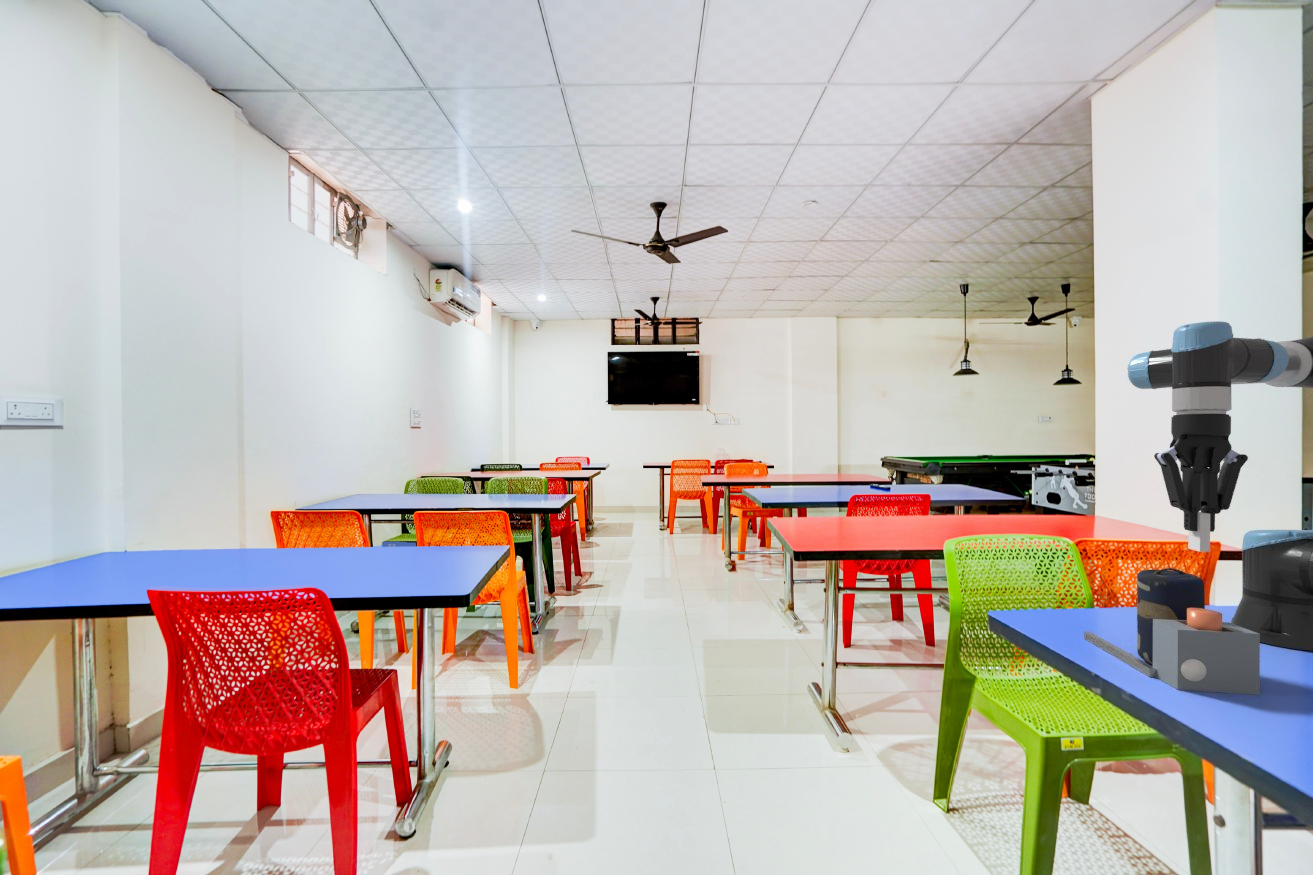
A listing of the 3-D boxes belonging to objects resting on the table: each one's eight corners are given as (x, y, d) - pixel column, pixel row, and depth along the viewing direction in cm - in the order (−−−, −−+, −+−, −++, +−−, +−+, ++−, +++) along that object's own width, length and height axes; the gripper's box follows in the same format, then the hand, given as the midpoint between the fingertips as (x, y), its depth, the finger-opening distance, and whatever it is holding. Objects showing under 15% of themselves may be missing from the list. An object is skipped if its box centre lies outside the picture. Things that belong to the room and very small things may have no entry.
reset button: (1208, 634, 101) (1208, 608, 101) (1229, 642, 97) (1229, 615, 97) (1180, 632, 102) (1180, 607, 102) (1199, 641, 98) (1199, 614, 98)
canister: (1219, 677, 103) (1219, 575, 103) (1156, 672, 105) (1157, 572, 105) (1181, 657, 112) (1182, 563, 112) (1125, 653, 114) (1126, 561, 114)
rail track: (1165, 642, 120) (1165, 635, 120) (1247, 682, 100) (1248, 674, 100) (1084, 638, 122) (1084, 631, 122) (1149, 677, 103) (1149, 668, 103)
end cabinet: (1229, 679, 102) (1229, 622, 102) (1261, 695, 95) (1261, 634, 95) (1152, 675, 103) (1152, 618, 103) (1179, 690, 97) (1179, 630, 97)
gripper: (1226, 414, 103) (1225, 548, 103) (1143, 414, 105) (1142, 544, 105) (1263, 412, 96) (1261, 556, 96) (1173, 412, 98) (1171, 552, 98)
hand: (1198, 550), depth 100 cm, fingers closed
